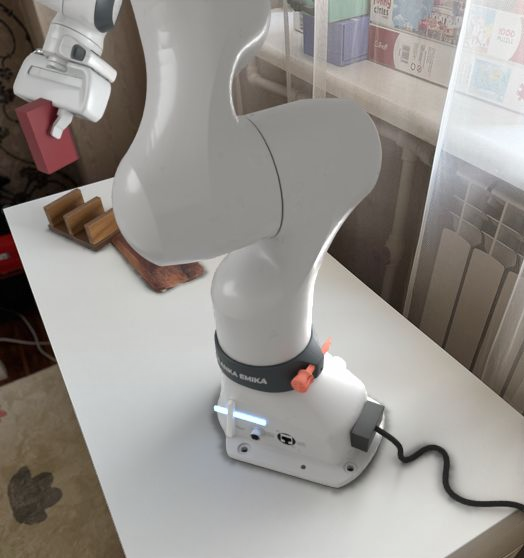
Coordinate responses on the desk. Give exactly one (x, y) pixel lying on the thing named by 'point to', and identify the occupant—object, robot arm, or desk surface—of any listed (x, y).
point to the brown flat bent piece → (158, 268)
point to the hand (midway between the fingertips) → (44, 134)
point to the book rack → (82, 220)
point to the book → (46, 136)
